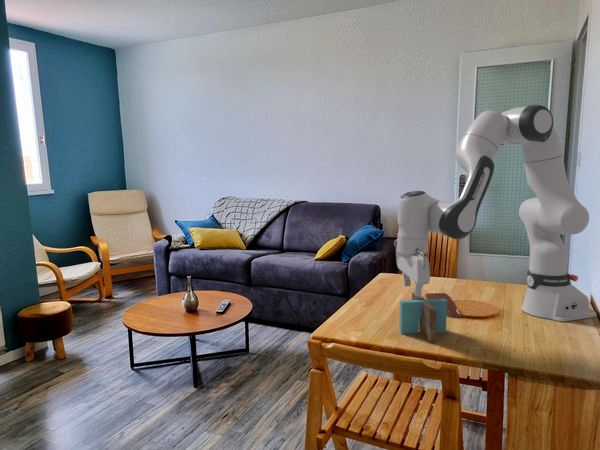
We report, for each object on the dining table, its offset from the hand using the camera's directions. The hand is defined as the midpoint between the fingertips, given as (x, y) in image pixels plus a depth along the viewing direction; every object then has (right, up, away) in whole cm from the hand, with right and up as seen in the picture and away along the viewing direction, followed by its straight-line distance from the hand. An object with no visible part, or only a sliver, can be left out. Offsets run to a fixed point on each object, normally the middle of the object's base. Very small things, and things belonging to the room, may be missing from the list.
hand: (412, 290), depth 130 cm
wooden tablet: (+18, -10, +26) cm, 33 cm away
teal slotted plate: (+4, -13, +2) cm, 14 cm away
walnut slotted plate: (+4, -13, +2) cm, 14 cm away
